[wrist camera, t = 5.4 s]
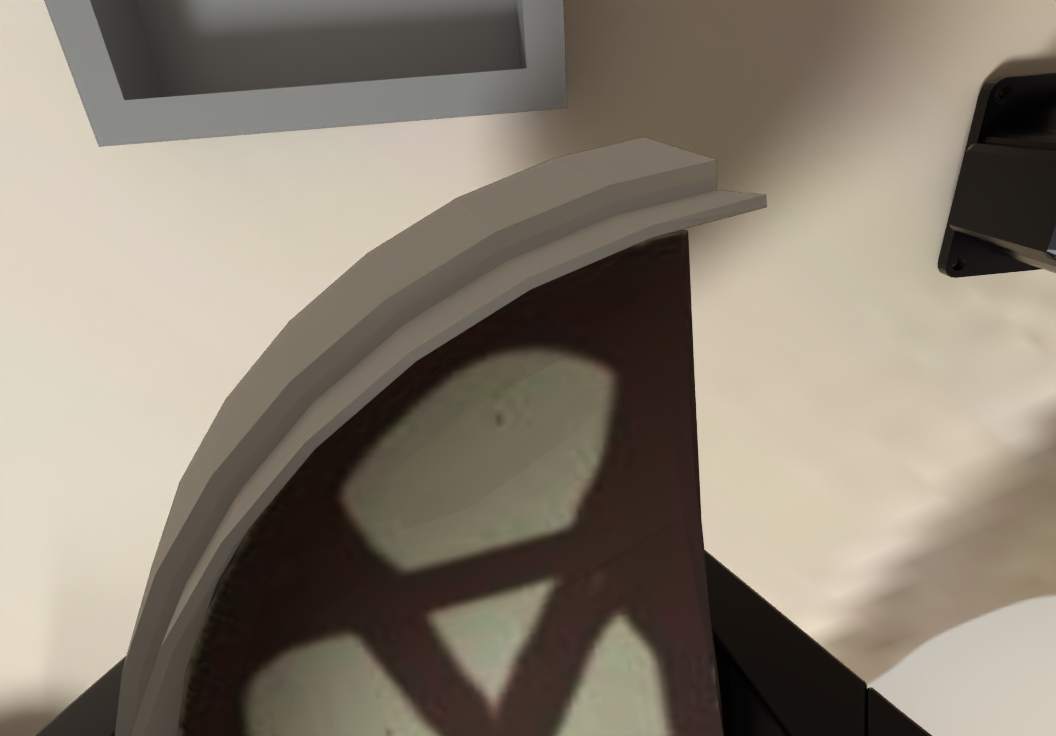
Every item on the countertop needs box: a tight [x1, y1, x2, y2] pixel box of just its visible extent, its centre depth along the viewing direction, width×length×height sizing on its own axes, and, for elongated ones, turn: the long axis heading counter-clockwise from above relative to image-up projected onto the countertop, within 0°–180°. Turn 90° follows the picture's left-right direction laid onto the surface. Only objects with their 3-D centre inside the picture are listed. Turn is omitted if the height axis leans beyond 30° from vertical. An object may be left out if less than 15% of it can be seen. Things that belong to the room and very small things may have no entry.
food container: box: [115, 137, 767, 736], centre depth 10 cm, size 12×6×10 cm, turn 7°
